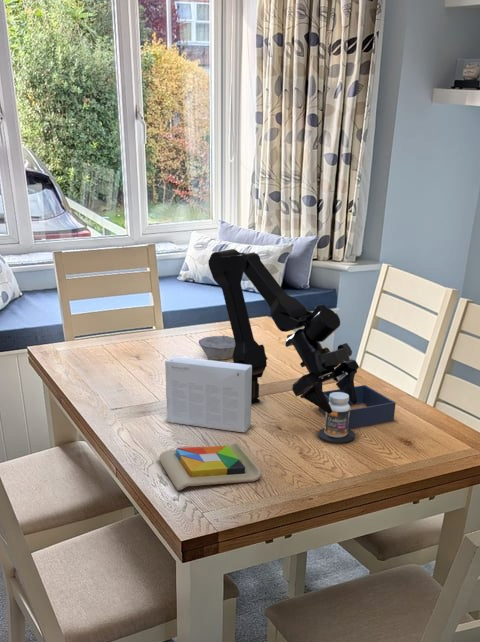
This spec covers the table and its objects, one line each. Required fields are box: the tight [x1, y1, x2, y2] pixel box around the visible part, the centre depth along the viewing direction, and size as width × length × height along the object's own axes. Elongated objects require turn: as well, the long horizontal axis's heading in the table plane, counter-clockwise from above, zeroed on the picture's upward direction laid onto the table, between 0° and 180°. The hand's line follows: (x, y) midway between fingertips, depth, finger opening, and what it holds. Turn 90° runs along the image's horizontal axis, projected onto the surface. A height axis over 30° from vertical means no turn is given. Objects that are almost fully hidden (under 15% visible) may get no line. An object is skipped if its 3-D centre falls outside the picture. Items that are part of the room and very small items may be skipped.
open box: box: [318, 384, 397, 430], centre depth 193 cm, size 14×14×5 cm
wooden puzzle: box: [158, 442, 262, 491], centre depth 165 cm, size 18×19×4 cm
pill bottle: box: [324, 392, 351, 438], centre depth 180 cm, size 6×6×10 cm
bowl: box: [198, 335, 235, 361], centre depth 235 cm, size 13×13×5 cm
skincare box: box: [164, 355, 252, 433], centre depth 185 cm, size 21×5×16 cm, turn 71°
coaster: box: [317, 427, 356, 445], centre depth 182 cm, size 9×9×1 cm
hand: (343, 408), depth 178 cm, fingers open, 9 cm apart
